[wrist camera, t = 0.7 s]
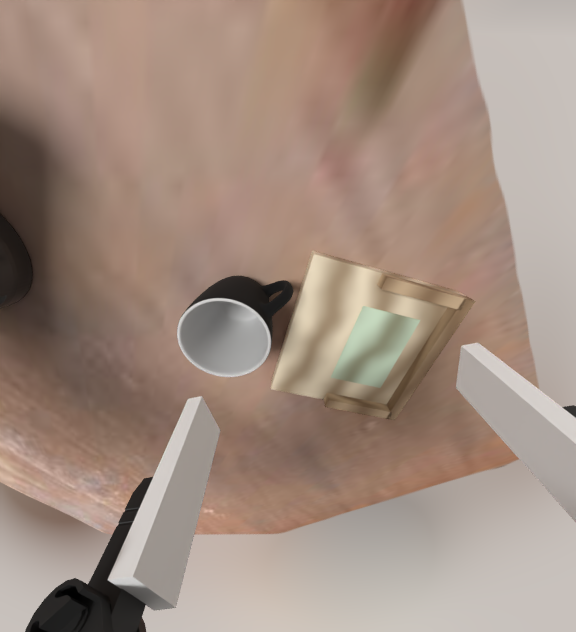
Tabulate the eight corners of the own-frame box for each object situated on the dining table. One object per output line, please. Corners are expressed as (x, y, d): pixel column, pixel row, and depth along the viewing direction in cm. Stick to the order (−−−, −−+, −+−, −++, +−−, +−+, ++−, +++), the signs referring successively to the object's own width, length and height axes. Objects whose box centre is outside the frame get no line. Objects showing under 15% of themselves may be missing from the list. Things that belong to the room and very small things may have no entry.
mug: (233, 338, 35) (215, 390, 26) (192, 287, 31) (155, 326, 22) (307, 300, 32) (316, 342, 23) (272, 240, 29) (266, 261, 20)
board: (271, 380, 38) (270, 396, 35) (312, 250, 29) (315, 257, 26) (386, 403, 41) (394, 420, 38) (456, 290, 32) (475, 301, 29)
